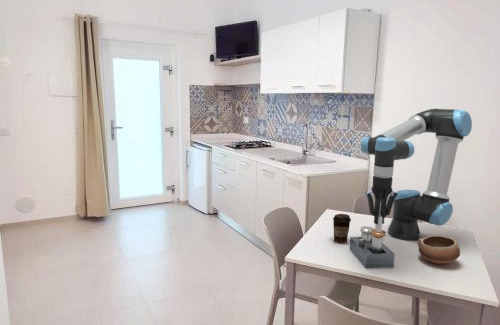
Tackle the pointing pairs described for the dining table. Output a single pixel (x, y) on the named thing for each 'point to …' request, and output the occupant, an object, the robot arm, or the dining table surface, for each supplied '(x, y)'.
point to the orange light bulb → (377, 241)
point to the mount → (372, 255)
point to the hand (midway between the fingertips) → (378, 231)
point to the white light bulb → (366, 234)
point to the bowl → (439, 249)
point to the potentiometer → (361, 242)
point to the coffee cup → (341, 227)
